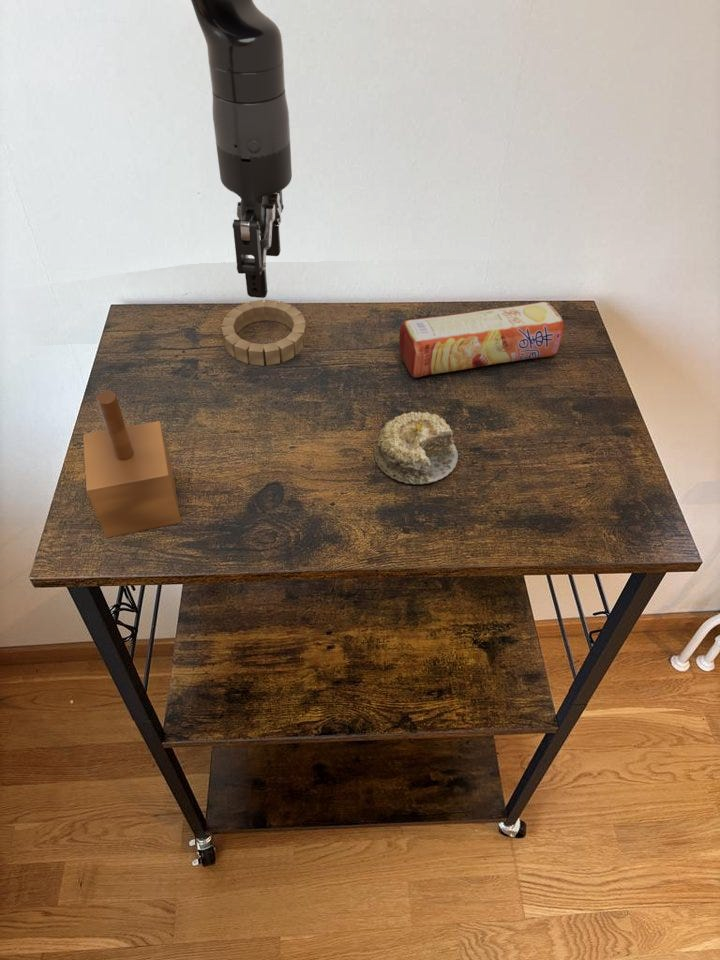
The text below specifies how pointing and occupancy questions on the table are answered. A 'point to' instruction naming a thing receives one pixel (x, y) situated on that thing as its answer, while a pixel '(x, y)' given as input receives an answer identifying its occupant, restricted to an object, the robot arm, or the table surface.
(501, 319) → the snack package
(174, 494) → the post
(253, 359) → the ring
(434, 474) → the cake
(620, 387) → the table surface
